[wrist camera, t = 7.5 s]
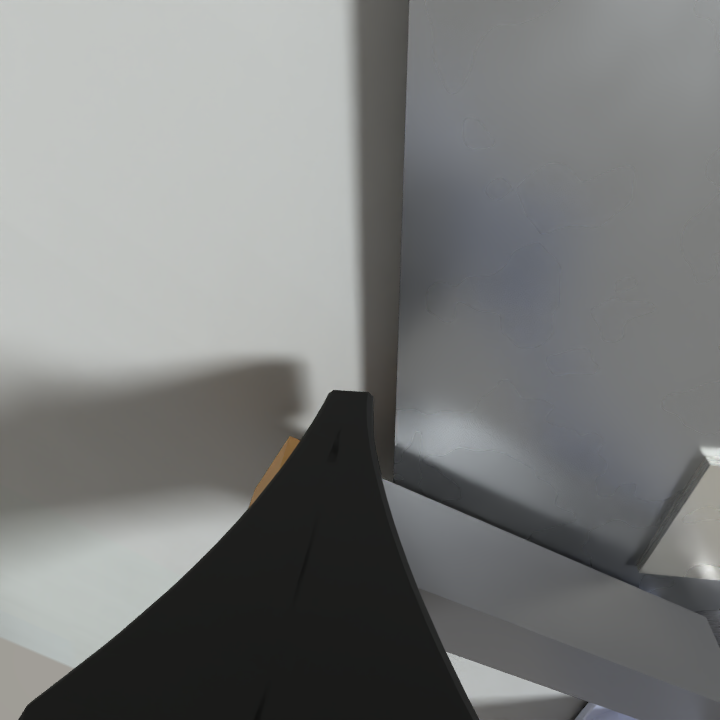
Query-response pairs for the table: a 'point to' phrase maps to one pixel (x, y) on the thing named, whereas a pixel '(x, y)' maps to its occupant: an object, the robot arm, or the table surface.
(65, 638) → the table surface
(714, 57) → the grey lever board
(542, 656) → the swing bar
